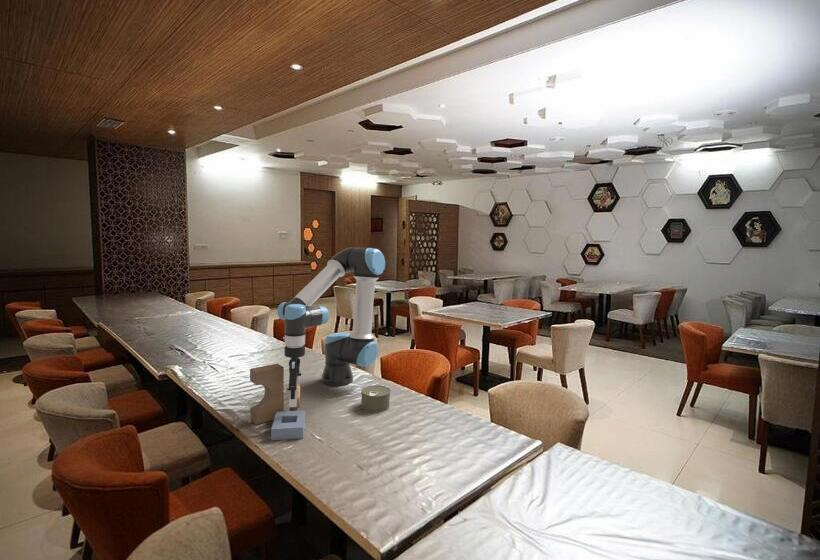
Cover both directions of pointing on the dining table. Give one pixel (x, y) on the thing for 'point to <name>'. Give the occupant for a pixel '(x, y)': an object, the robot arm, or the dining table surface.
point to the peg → (297, 400)
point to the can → (375, 398)
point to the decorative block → (268, 392)
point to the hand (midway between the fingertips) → (294, 399)
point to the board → (288, 425)
